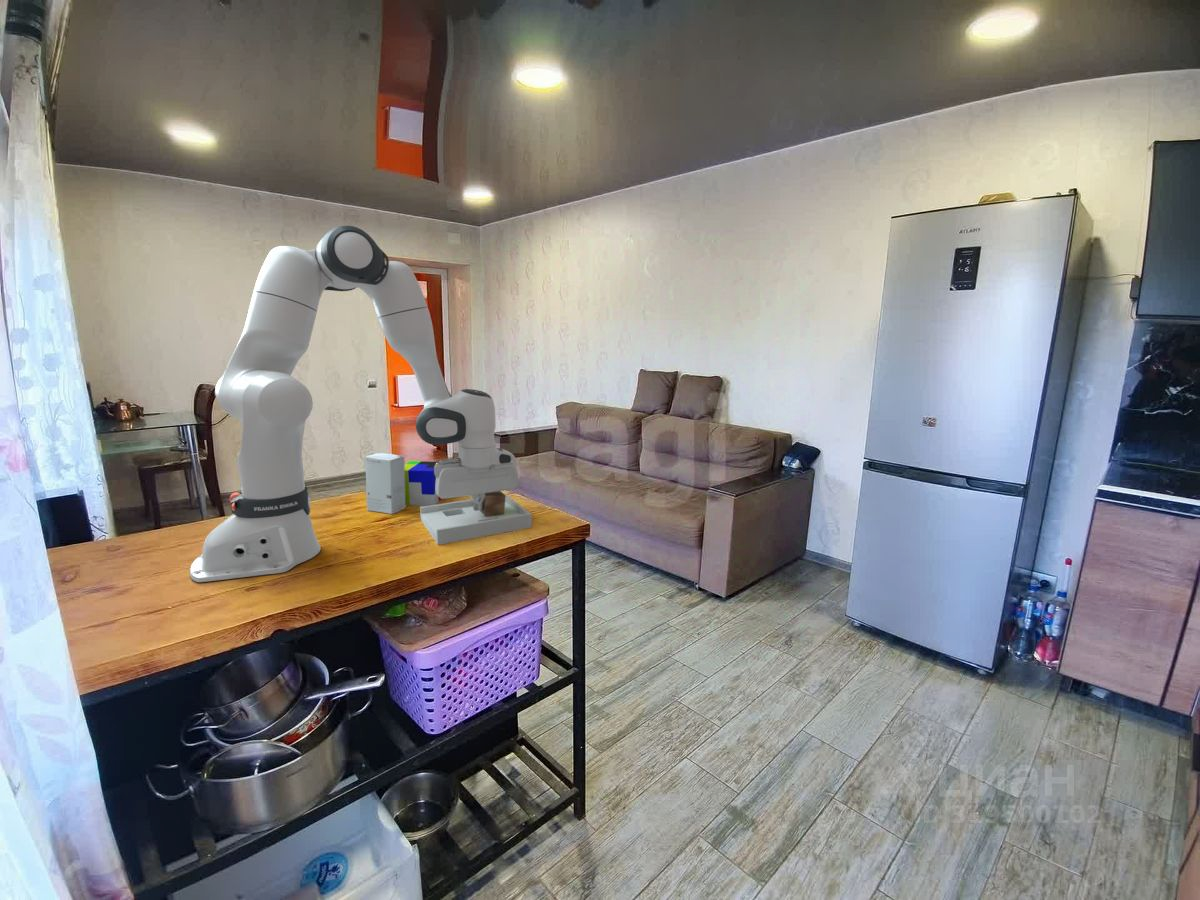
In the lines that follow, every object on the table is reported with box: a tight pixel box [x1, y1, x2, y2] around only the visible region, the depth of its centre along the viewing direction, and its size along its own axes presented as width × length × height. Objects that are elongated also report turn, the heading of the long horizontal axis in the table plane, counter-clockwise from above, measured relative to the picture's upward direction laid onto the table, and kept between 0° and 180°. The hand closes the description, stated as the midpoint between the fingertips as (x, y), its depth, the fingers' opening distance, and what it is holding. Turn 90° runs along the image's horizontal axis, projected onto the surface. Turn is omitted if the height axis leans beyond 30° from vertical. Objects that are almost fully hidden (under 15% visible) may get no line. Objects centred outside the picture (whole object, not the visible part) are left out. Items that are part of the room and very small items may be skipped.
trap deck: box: [419, 493, 533, 545], centre depth 129 cm, size 23×18×4 cm
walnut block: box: [480, 491, 507, 516], centre depth 131 cm, size 5×5×5 cm
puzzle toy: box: [405, 460, 442, 507], centre depth 145 cm, size 10×10×10 cm
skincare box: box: [364, 452, 406, 515], centre depth 136 cm, size 8×6×15 cm
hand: (478, 510), depth 129 cm, fingers closed
